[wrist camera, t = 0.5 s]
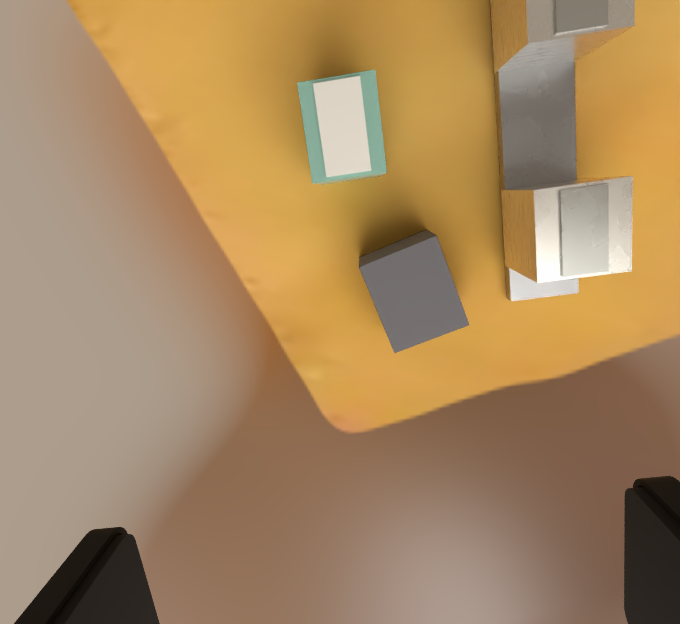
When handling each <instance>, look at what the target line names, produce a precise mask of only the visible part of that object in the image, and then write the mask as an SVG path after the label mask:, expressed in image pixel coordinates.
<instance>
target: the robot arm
mask: <svg viewBox="0 0 680 624" xmlns="http://www.w3.org/2000/svg"><path fill="white" fill-rule="evenodd" d="M624 554H625V555H624V556H625V561H624V569H625V571H624V609H625V614H626V618H627V621H628V624H680V482H679V481H678V480H677V479H675V478H674V477H671V476H663V477H652V478H642V479H637V480H635V482H634V484H633V488H628V489H627V490H626V492H625V553H624ZM14 624H159V620H158V617H157V613H156V610H155V606H154V603H153V599H152V596H151V592H150V589H149V585H148V582H147V578H146V575H145V572H144V568H143V565H142V561H141V558H140V554H139V551H138V548H137V544H136V540H135V538H134V536H133V535H131V534H127V531H126V530H125V529H124V528H122V527H115V528H104V529H94V530H91V531H90V532H89V533H87V534H86V536H85V537H84V538H83V539H82V540H81V542H80V543H79V544H78V545H77V547H76V548H75V549H74V550H73V552H72V553H71V554H70V555H69V557H68V558H67V559H66V560H65V561H64V563H63V564H62V565H61V566H60V568H59V569H58V570H57V571H56V573H55V574H54V575H53V576H52V577H51V579H50V580H49V581H48V583H47V584H46V585H45V586H44V587H43V589H42V590H41V591H40V592H39V594H38V595H37V596H36V597H35V598H34V600H33V601H32V602H31V603H30V605H29V606H28V607H27V608H26V610H25V611H24V612H23V614H22V615H21V616H20V617H19V618H18V620H17V621H16V622H15V623H14Z"/></svg>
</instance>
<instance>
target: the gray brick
mask: <svg viewBox="0 0 680 624" xmlns="http://www.w3.org/2000/svg"><path fill="white" fill-rule="evenodd" d="M359 268H360V271H361V273H362V276H363V278H364V281H365V283H366V285H367V288H368V290H369V293H370V295H371V297H372V300H373V302H374V305H375V307H376V310H377V312H378V314H379V317H380V319H381V322H382V324H383V326H384V329H385V331H386V334H387V336H388V338H389V341H390V343H391V346H392V348H393V351H394V353H396V352H399V351H402V350H404V349H407V348H410V347H412V346H415V345H417V344H420V343H423V342H425V341H428V340H431V339H433V338H436V337H439V336H441V335H444V334H447V333H449V332H452V331H455V330H457V329H460V328H463V327H465V326H468V325H469V323H468V320H467V317H466V314H465V312H464V309H463V306H462V304H461V301H460V298H459V295H458V293H457V290H456V287H455V285H454V282H453V279H452V276H451V274H450V271H449V268H448V266H447V263H446V260H445V258H444V255H443V252H442V249H441V247H440V244H439V241H438V239H437V236H436V235H435V234H433V233H431V232H430V231H428V230H424V231H422V232H419V233H417V234H415V235H412V236H410V237H407V238H405V239H402V240H400V241H398V242H395V243H393V244H390V245H388V246H386V247H383V248H381V249H378V250H376V251H373V252H371V253H369V254H366V255H364V256H361V257H359Z"/></svg>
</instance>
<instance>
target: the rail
mask: <svg viewBox="0 0 680 624" xmlns="http://www.w3.org/2000/svg"><path fill="white" fill-rule="evenodd" d="M634 4H635V0H490V11H491V28H492V46H493V64H494V82H495V99H496V117H497V135H498V153H499V170H500V188H501V206H502V224H503V241H504V259H505V277H506V295H507V299H509V300H510V301H517V300H525V299H533V298H541V297H549V296H557V295H565V294H573V293H578V278H581V277H589V276H597V275H604V274H612V273H620V272H628V271H632V194H633V176H624V177H604V178H584V179H576V126H575V70H574V60H578V59H580V58H582V57H583V56H585V55H587V54H588V53H590V52H592V51H593V50H595V49H597V48H598V47H600V46H602V45H603V44H605V43H607V42H608V41H610V40H612V39H613V38H615V37H617V36H618V35H620V34H622V33H623V32H625V31H626V30H628V29H630V28H631V27H633V26H634Z"/></svg>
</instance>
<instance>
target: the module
mask: <svg viewBox="0 0 680 624" xmlns="http://www.w3.org/2000/svg"><path fill="white" fill-rule="evenodd" d="M297 85H298V92H299V98H300V105H301V111H302V118H303V125H304V131H305V138H306V144H307V151H308V158H309V164H310V171H311V178H312V183H314V184H322V185H324V184H330V183H337V182H344V181H351V180H357V179H364V178H371V177H377V176H382V175H384V174H385V173H386V172H387V169H386V160H385V151H384V142H383V133H382V125H381V116H380V107H379V98H378V89H377V80H376V71H375V70H370V71H364V72H358V73H352V74H346V75H340V76H334V77H328V78H322V79H316V80H310V81H304V82H298V83H297Z"/></svg>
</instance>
